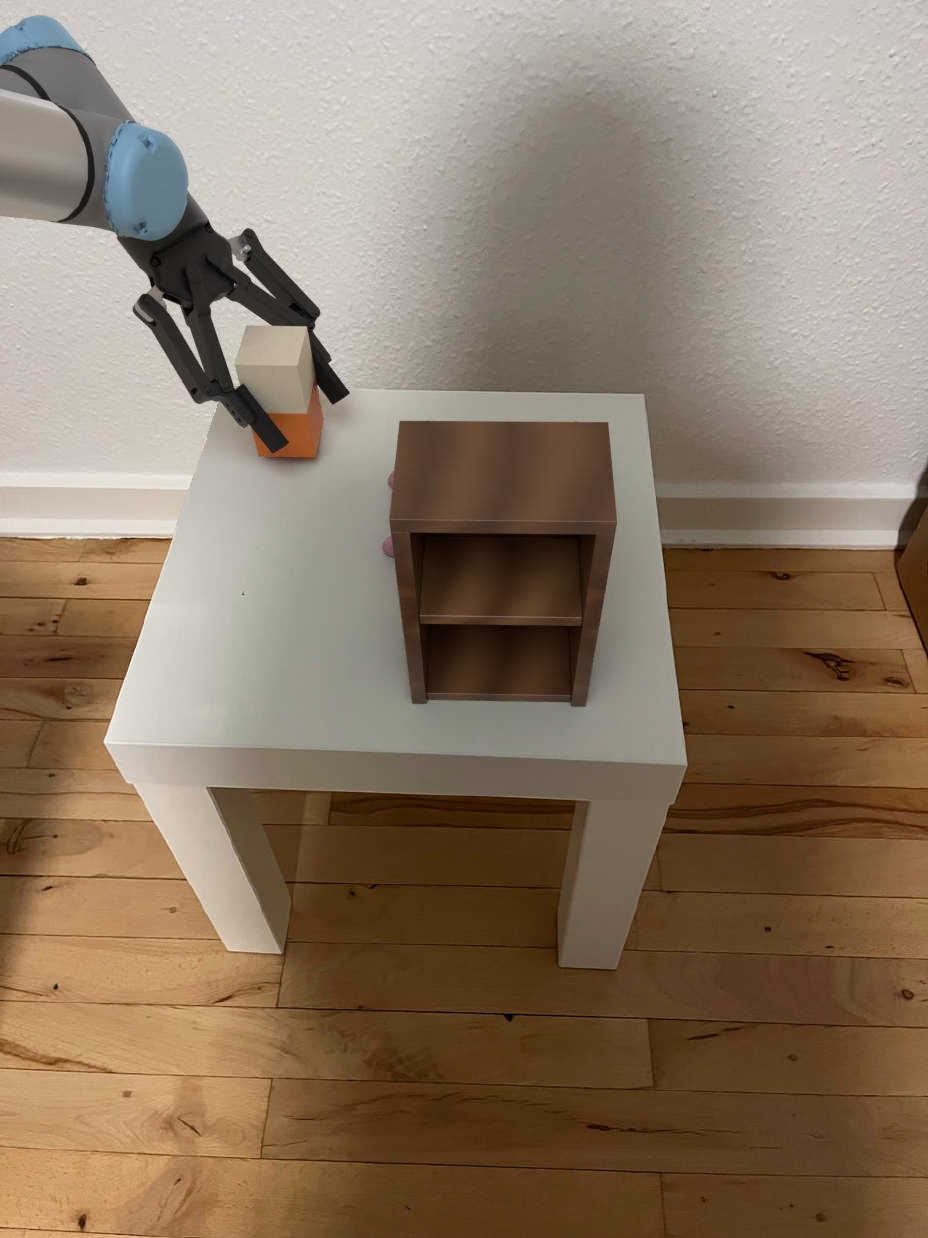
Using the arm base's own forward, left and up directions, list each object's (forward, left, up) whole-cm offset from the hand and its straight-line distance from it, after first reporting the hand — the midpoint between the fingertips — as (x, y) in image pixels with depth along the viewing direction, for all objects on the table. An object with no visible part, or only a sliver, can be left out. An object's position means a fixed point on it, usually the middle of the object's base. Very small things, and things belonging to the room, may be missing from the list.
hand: (311, 422), depth 87 cm
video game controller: (+9, -9, -5) cm, 14 cm away
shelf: (+14, -26, -5) cm, 30 cm away
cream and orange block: (-2, +2, -4) cm, 5 cm away
